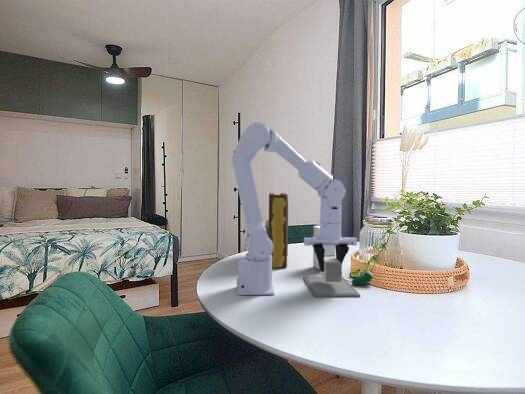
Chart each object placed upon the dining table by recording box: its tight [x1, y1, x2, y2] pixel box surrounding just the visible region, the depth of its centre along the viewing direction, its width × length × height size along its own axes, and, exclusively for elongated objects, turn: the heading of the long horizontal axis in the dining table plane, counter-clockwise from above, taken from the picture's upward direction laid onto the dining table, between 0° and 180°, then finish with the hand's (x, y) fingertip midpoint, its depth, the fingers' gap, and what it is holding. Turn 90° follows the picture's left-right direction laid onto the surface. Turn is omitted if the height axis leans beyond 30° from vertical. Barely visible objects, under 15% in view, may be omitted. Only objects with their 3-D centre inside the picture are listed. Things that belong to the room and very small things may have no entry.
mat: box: [302, 276, 361, 298], centre depth 84 cm, size 12×15×1 cm
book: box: [265, 192, 289, 270], centre depth 112 cm, size 22×8×25 cm, turn 179°
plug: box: [319, 256, 343, 282], centre depth 85 cm, size 4×9×5 cm, turn 3°
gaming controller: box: [349, 268, 374, 286], centre depth 89 cm, size 9×4×6 cm
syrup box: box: [312, 225, 336, 272], centre depth 102 cm, size 6×6×14 cm
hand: (329, 270), depth 84 cm, fingers closed on plug, 4 cm apart
